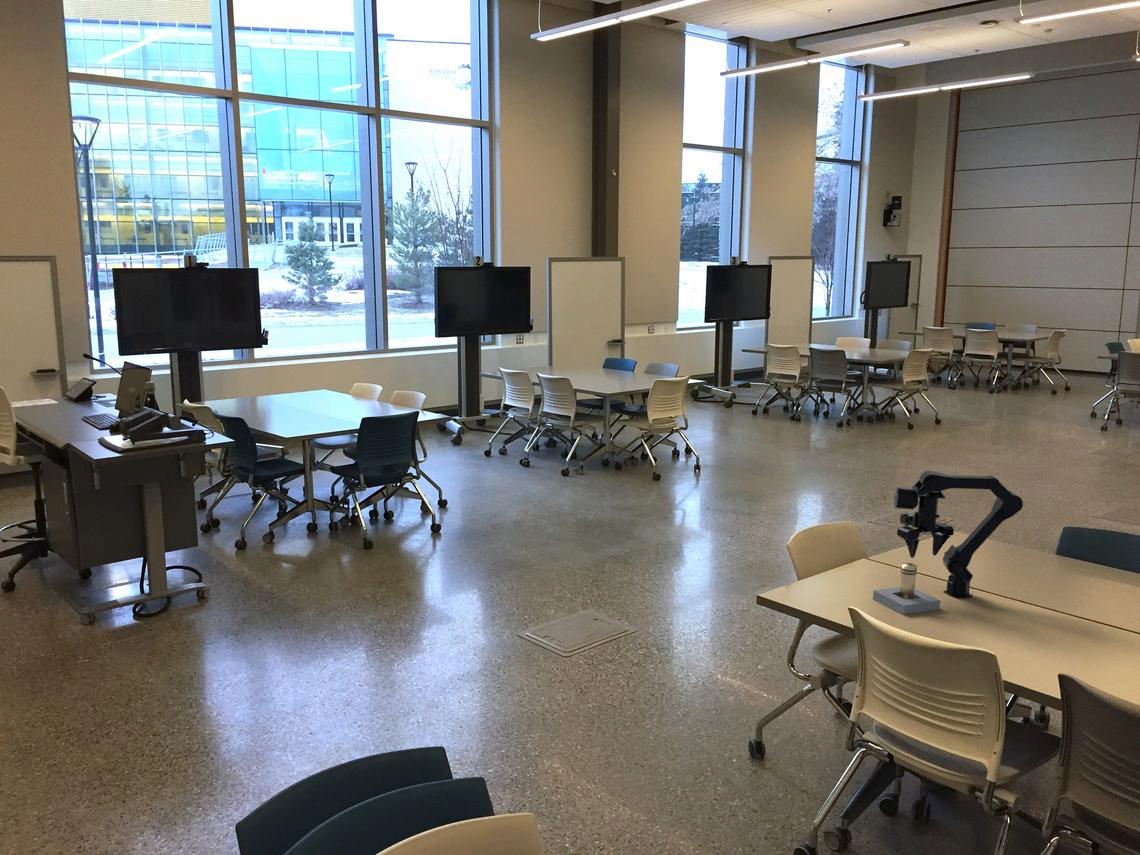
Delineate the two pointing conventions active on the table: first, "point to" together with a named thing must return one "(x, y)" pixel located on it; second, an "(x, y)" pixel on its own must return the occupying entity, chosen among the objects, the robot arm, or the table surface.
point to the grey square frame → (906, 601)
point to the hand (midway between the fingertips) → (923, 556)
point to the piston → (907, 581)
